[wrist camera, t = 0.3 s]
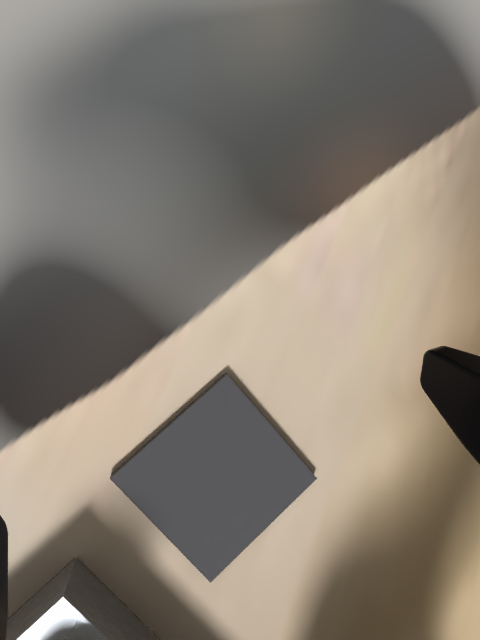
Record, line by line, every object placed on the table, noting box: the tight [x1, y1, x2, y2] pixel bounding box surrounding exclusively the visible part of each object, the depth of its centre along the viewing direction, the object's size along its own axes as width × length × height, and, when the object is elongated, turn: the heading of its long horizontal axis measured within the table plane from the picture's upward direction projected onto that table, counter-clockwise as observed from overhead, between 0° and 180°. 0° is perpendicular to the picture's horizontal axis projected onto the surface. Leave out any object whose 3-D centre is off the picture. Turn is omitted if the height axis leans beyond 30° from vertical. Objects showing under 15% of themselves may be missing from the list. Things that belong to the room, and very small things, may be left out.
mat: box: [110, 374, 317, 583], centre depth 22 cm, size 8×8×1 cm
